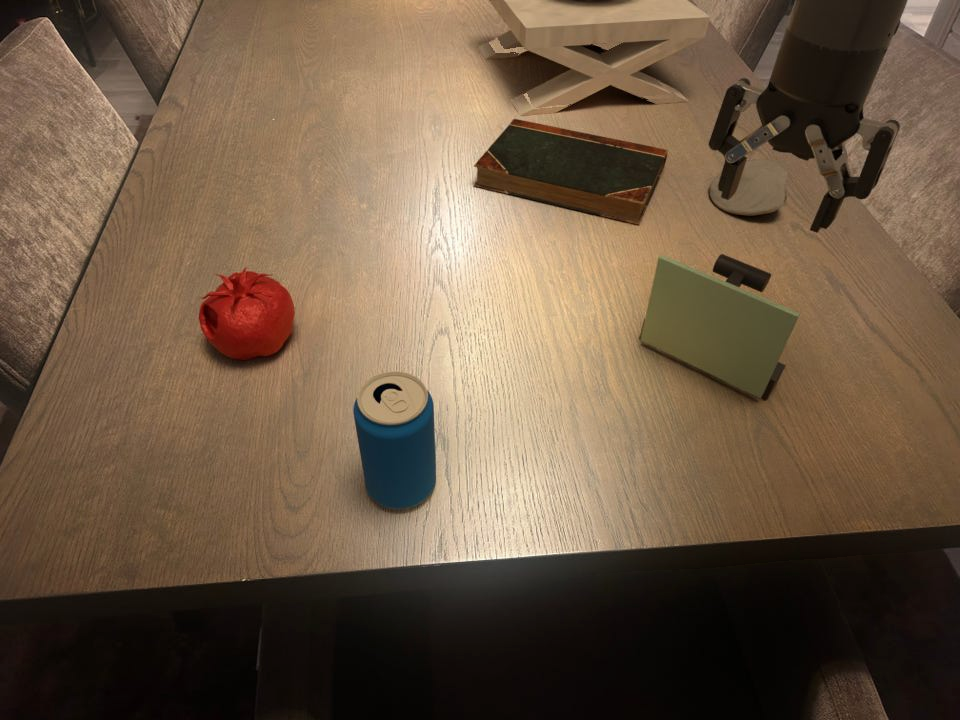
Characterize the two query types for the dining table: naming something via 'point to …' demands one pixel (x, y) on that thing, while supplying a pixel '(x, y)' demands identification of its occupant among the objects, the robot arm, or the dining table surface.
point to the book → (572, 170)
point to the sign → (718, 321)
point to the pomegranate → (247, 315)
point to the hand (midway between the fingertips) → (771, 211)
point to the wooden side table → (596, 20)
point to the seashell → (754, 189)
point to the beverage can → (396, 439)
